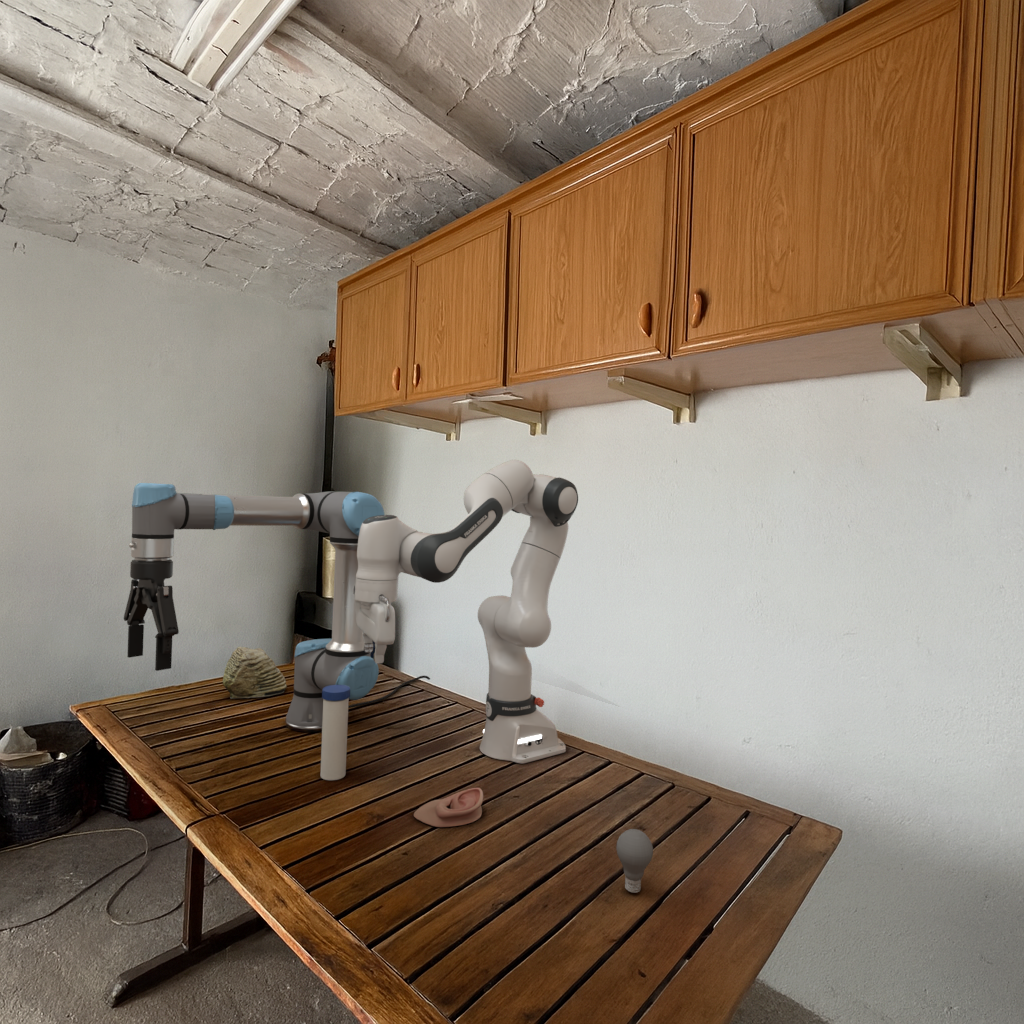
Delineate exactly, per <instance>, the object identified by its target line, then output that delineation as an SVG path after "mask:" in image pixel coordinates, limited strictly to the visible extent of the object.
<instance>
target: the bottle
mask: <svg viewBox="0 0 1024 1024" xmlns="http://www.w3.org/2000/svg"><path fill="white" fill-rule="evenodd" d="M348 705H349V698H347V699H345V700H340V701H329V700H325V699H323V720H322V731H321V746H320V747H321V748H320V749H321V750H320V778H321V779H323V780H325V781H338V780H342V779H343V778H344V777H345V776H346V774H347V750H348V729H349V728H348V726H349V708H348Z"/></svg>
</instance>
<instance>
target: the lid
mask: <svg viewBox="0 0 1024 1024" xmlns="http://www.w3.org/2000/svg"><path fill="white" fill-rule="evenodd" d="M349 697H350V687H349V686H346V685H330V686H326V687H324V688H323V691H322V698H323V699H325V700H329V701H340V700H345V699H347V698H349Z"/></svg>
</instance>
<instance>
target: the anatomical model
mask: <svg viewBox="0 0 1024 1024" xmlns="http://www.w3.org/2000/svg"><path fill="white" fill-rule="evenodd" d="M483 802H484V792H483V790H482V788H480V787H471V788H467V789H464V790H461V791H458V792H456V793H454V794H451V795H449V796H446V797H444V798H441V799H440V798H439V799H434V800H430V801H429V802H427V803H424V804H423V805H421V806H419V808H418V809H417V810H415V811H414V813H413V817H414V818H415V819H416V820H417V821H419V822H422V823H424V824H426V825H428V826H432V827H434V828H435V827H436V828H449V827H450V828H451V827H457V826H464V825H467V824H471V823H474V822H475V821H477V820H479V819H480V818H481V817H482V814H483V809H482V805H483Z"/></svg>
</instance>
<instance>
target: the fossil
mask: <svg viewBox="0 0 1024 1024" xmlns="http://www.w3.org/2000/svg"><path fill="white" fill-rule="evenodd" d="M222 676H223V677H222V685H223V687H224V688H225V690H226V691H228V693H229V698H230V699H250V698H264V697H271V696H275V695H281V694H284V693H285V691H286V689H287V687H288V686H287V680H286V678H285V676H284V674H283V673H282V672H281V669H279V668H278V667H277V665H276V663H275V662H274V660H273V659H272V658H271V657H270V656H269V655H268V654H267V653H266V652H265V650H264V649H263V648H260V647H258V648H251V647H247V646H246V647H245V646H238V647H237V648H236V649H235V650H233V651H232V653H231V656H230V657H229V659H228V660H227V663H226V666H225V668H224V671H223V675H222Z"/></svg>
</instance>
